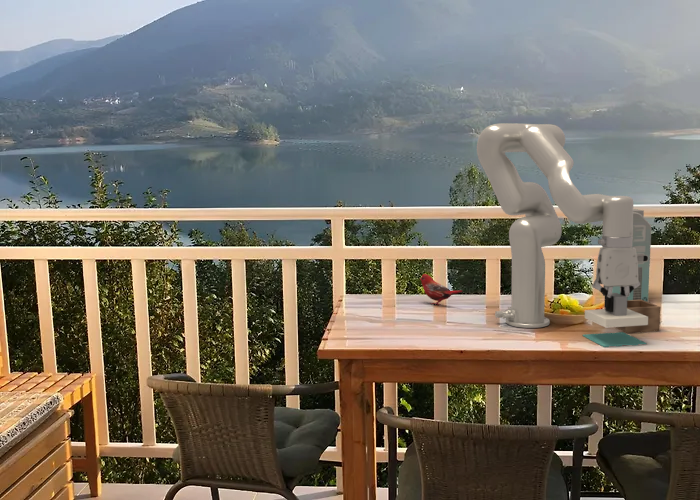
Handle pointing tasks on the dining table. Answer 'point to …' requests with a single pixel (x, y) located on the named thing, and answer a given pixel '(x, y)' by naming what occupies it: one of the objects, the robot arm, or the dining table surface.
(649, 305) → the box
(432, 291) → the decorative bird figurine
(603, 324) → the lid
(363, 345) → the dining table surface
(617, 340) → the mat
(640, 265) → the device
